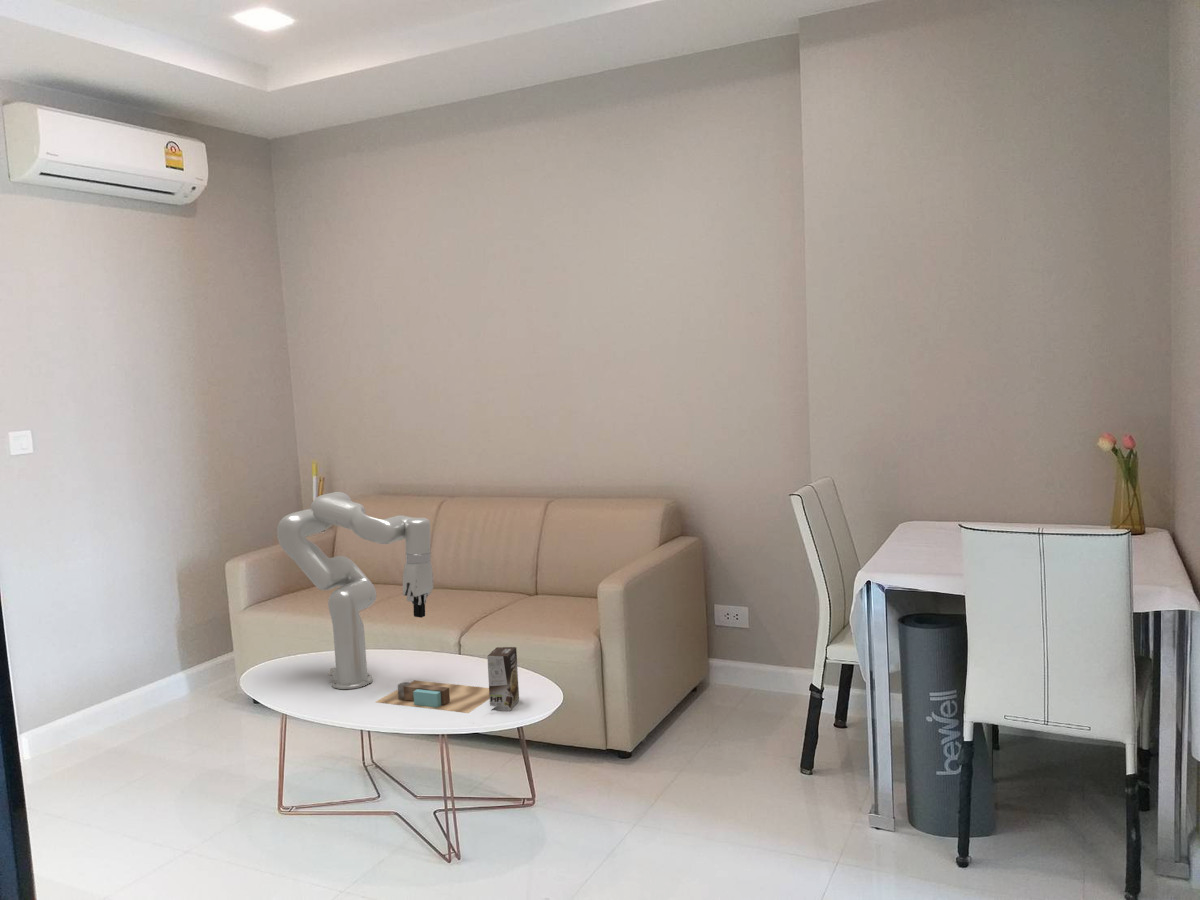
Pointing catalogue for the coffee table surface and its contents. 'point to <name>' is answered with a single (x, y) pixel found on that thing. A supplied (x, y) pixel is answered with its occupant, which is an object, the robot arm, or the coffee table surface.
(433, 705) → the stop block
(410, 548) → the robot arm
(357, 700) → the coffee table surface
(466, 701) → the stool top
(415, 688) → the folding leg
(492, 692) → the coffee box
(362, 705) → the coffee table surface
